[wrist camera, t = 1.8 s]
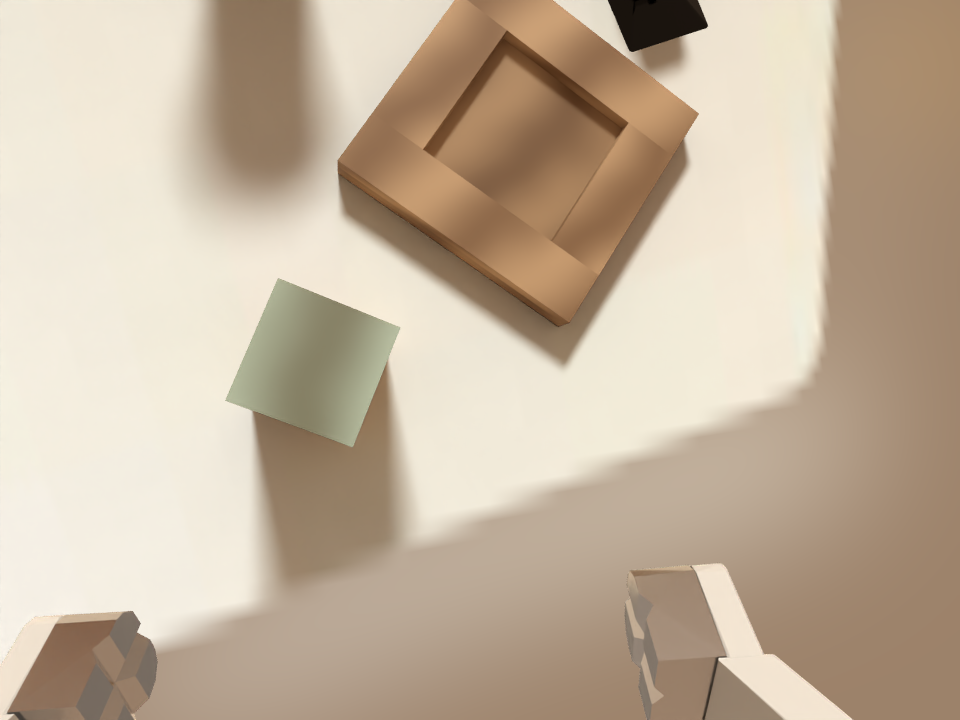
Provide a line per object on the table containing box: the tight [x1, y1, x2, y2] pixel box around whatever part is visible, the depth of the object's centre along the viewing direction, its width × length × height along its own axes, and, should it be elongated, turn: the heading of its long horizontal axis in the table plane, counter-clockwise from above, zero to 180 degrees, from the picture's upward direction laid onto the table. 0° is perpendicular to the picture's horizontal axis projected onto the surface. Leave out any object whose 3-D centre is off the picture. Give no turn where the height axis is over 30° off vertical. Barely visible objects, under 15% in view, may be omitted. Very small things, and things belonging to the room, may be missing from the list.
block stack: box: [225, 278, 400, 447], centre depth 30 cm, size 5×5×8 cm
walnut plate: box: [338, 0, 699, 327], centre depth 36 cm, size 14×14×2 cm
